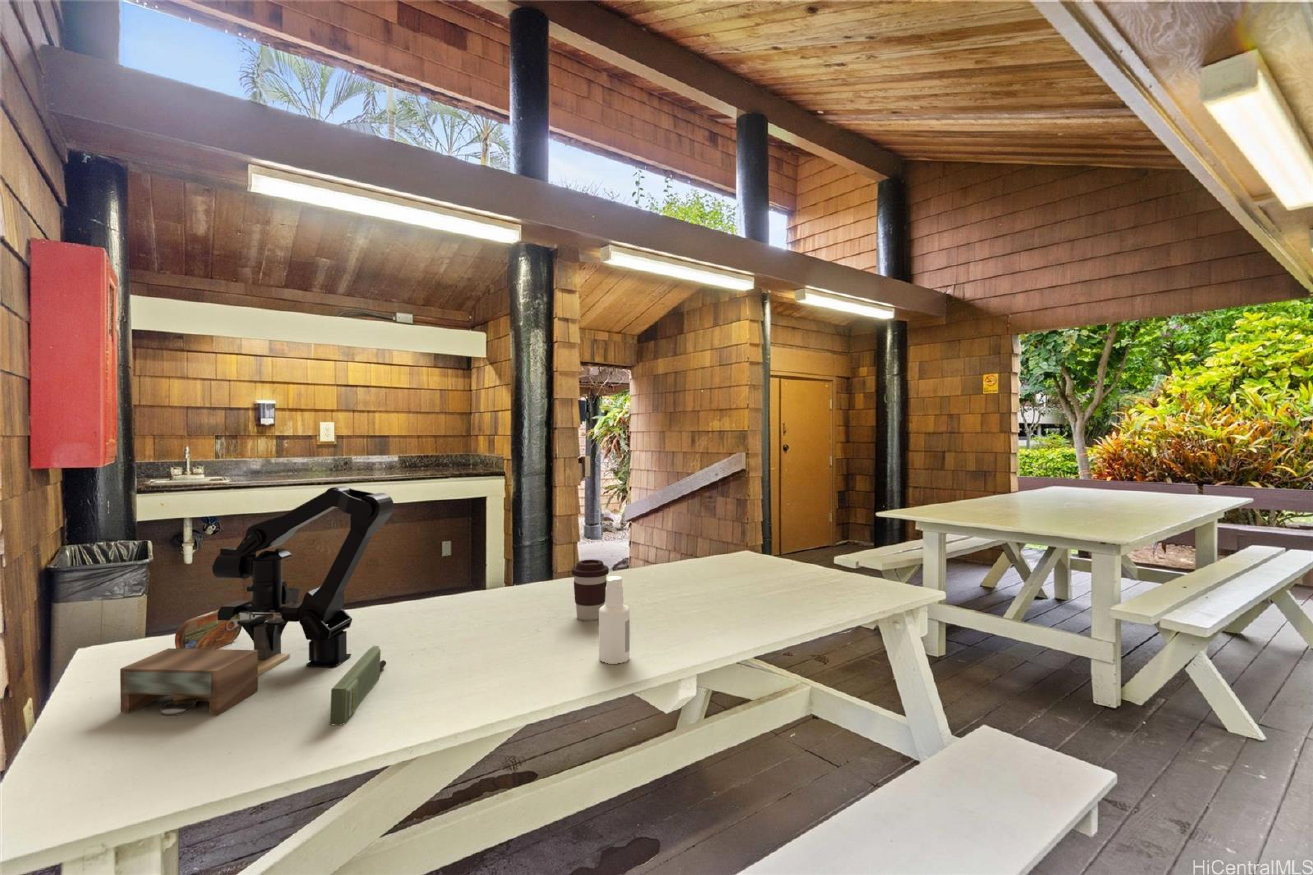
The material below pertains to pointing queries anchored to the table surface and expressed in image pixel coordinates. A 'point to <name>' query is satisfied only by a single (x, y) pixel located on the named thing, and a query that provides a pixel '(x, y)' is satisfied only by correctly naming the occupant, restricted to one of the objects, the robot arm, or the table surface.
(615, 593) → the spray bottle
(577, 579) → the coffee cup
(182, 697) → the scraper
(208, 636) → the tin
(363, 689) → the handheld radio
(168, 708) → the token
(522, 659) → the table surface
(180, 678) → the wooden bridge block
